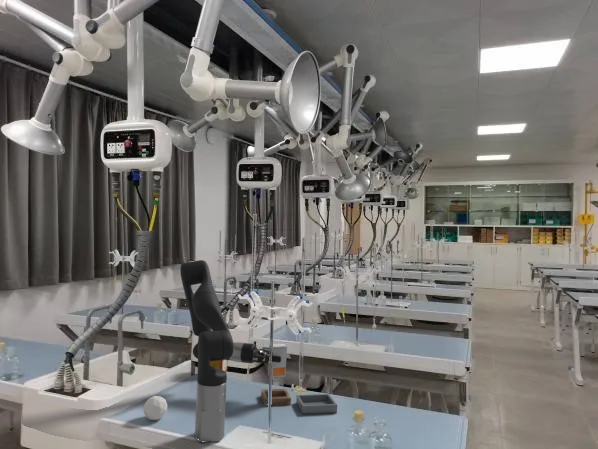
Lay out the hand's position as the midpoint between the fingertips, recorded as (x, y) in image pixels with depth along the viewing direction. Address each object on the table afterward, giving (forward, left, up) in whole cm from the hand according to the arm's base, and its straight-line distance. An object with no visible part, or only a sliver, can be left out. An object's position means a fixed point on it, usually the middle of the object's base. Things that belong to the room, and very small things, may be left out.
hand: (283, 357), depth 174 cm
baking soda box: (+36, +23, -17) cm, 46 cm away
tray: (-8, -12, -17) cm, 22 cm away
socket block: (+1, +2, -17) cm, 17 cm away
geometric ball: (-11, +46, -17) cm, 50 cm away
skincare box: (+1, +2, -8) cm, 8 cm away
